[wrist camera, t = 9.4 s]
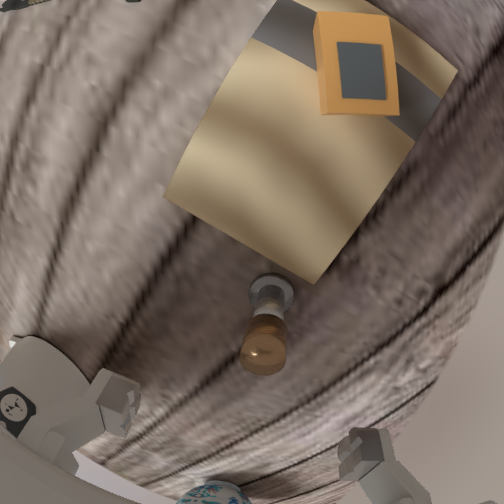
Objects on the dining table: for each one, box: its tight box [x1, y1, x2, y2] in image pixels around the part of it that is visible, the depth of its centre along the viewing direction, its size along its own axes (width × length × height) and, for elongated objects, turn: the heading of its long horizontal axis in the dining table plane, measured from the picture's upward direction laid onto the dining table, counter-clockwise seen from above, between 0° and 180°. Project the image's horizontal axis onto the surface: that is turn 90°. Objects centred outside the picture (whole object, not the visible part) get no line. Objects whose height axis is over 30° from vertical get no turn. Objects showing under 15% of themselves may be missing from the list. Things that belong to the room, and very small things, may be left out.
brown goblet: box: [239, 273, 294, 375], centre depth 21 cm, size 4×4×8 cm
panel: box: [163, 0, 458, 285], centre depth 19 cm, size 20×13×1 cm, turn 150°
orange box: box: [313, 11, 400, 117], centre depth 15 cm, size 6×4×4 cm, turn 5°
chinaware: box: [176, 480, 252, 504], centre depth 40 cm, size 15×15×8 cm
